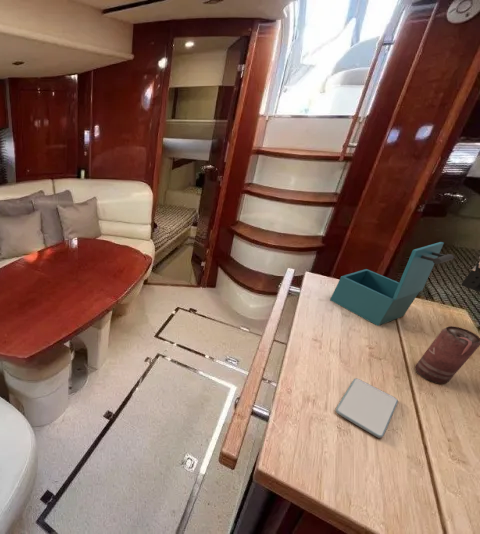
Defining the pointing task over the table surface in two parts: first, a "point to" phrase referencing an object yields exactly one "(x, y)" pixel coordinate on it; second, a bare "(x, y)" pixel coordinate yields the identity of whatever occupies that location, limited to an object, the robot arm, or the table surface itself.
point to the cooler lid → (420, 269)
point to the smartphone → (367, 407)
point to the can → (447, 354)
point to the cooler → (371, 296)
